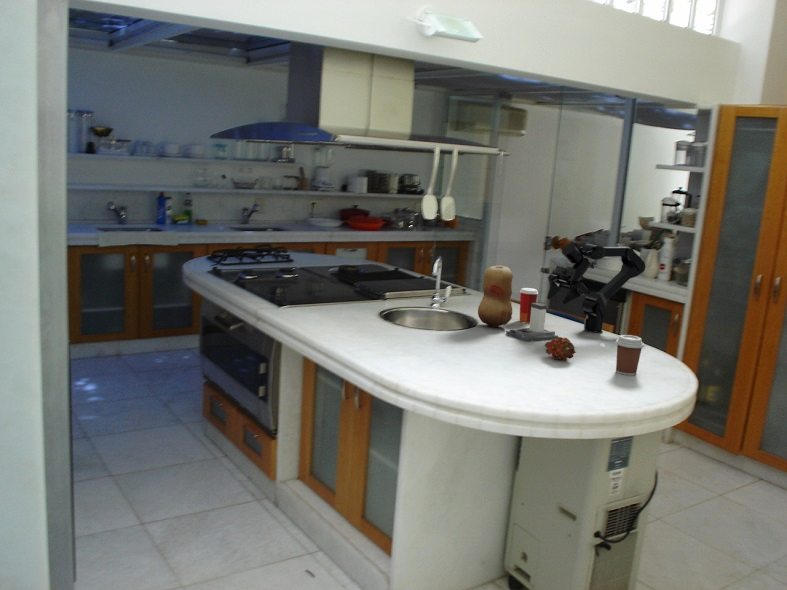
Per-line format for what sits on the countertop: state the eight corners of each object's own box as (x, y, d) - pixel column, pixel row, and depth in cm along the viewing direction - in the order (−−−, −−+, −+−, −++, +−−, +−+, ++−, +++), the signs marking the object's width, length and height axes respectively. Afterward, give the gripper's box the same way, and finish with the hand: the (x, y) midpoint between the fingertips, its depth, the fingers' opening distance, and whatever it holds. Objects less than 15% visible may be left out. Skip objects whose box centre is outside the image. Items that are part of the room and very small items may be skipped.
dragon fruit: (572, 368, 247) (544, 364, 256) (584, 351, 251) (556, 348, 260) (563, 350, 244) (535, 347, 253) (575, 333, 248) (547, 330, 257)
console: (536, 331, 292) (537, 325, 291) (557, 338, 282) (558, 332, 281) (506, 334, 284) (506, 328, 283) (526, 341, 274) (527, 335, 273)
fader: (537, 330, 287) (540, 302, 285) (546, 334, 283) (549, 305, 281) (525, 331, 284) (528, 303, 282) (534, 335, 280) (537, 306, 278)
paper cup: (534, 320, 312) (537, 288, 310) (536, 324, 305) (539, 291, 302) (516, 318, 313) (519, 287, 310) (517, 322, 305) (520, 290, 303)
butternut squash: (474, 328, 290) (480, 266, 285) (478, 321, 303) (484, 262, 298) (509, 332, 287) (515, 270, 282) (512, 325, 300) (518, 265, 295)
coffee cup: (618, 366, 248) (622, 332, 245) (644, 373, 242) (649, 338, 240) (607, 371, 241) (611, 336, 238) (634, 378, 235) (638, 342, 233)
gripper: (551, 254, 294) (529, 284, 292) (582, 261, 278) (559, 293, 276) (566, 271, 299) (544, 300, 297) (597, 279, 283) (574, 310, 281)
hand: (555, 301), depth 288 cm, fingers open, 9 cm apart
